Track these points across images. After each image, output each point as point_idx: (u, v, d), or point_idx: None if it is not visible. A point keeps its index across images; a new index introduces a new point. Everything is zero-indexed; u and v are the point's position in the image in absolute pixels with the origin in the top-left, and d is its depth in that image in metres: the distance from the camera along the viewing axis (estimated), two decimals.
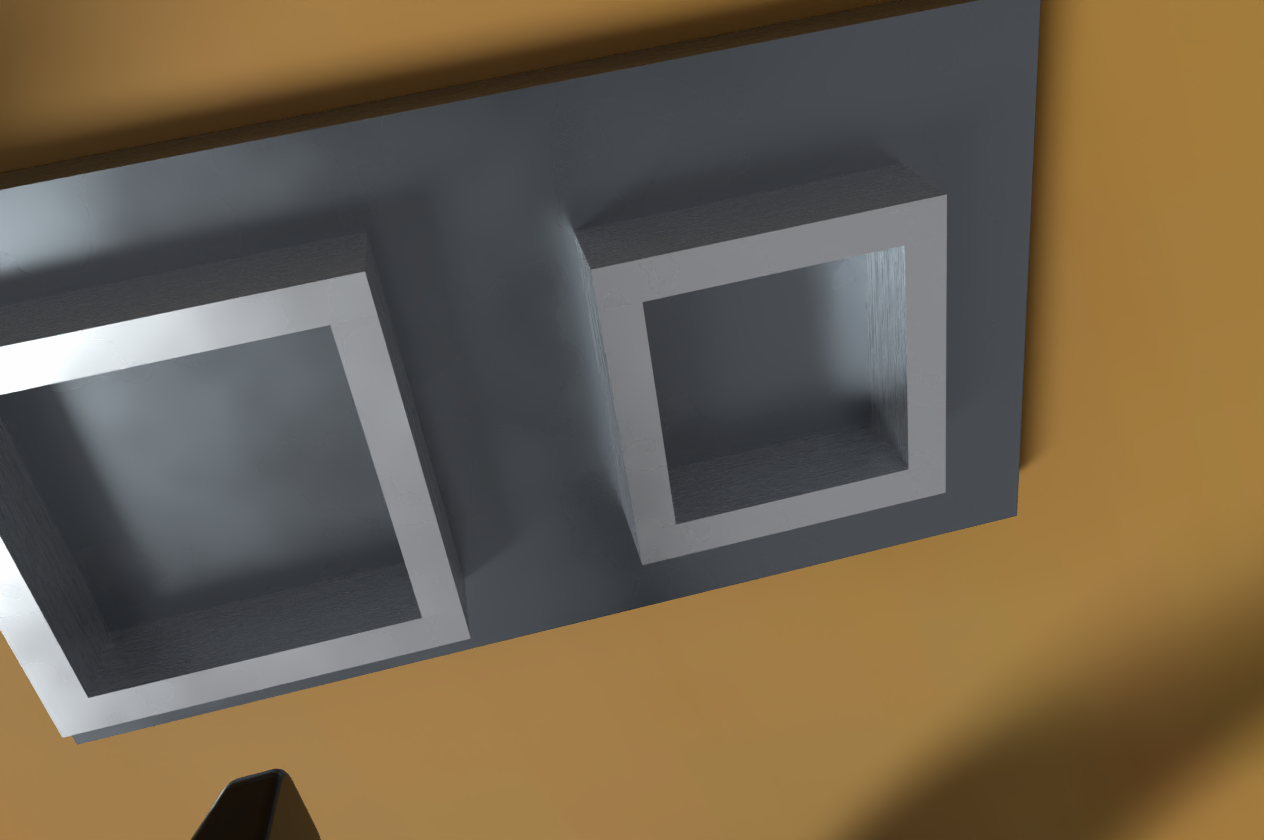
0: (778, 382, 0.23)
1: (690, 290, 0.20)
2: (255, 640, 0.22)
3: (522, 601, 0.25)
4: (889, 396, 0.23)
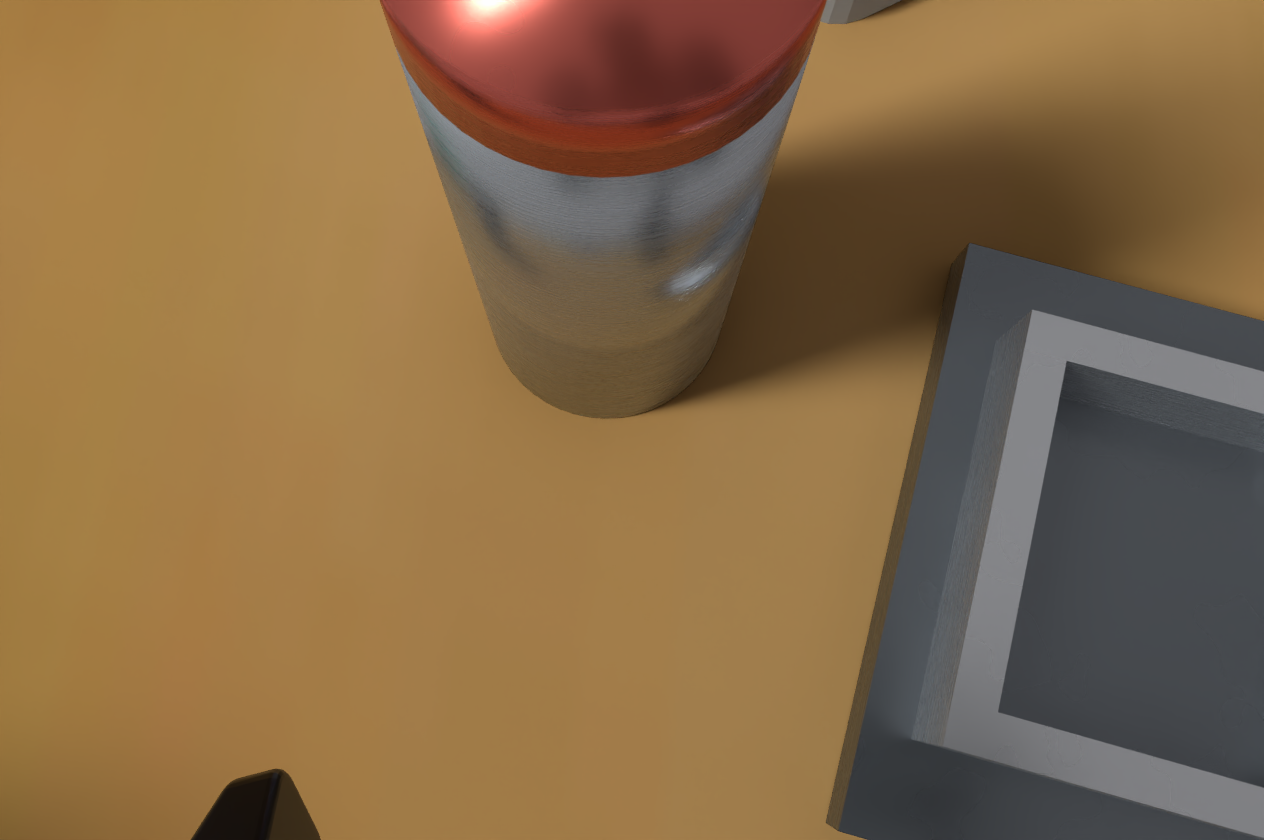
0: None
1: None
2: None
3: None
4: None
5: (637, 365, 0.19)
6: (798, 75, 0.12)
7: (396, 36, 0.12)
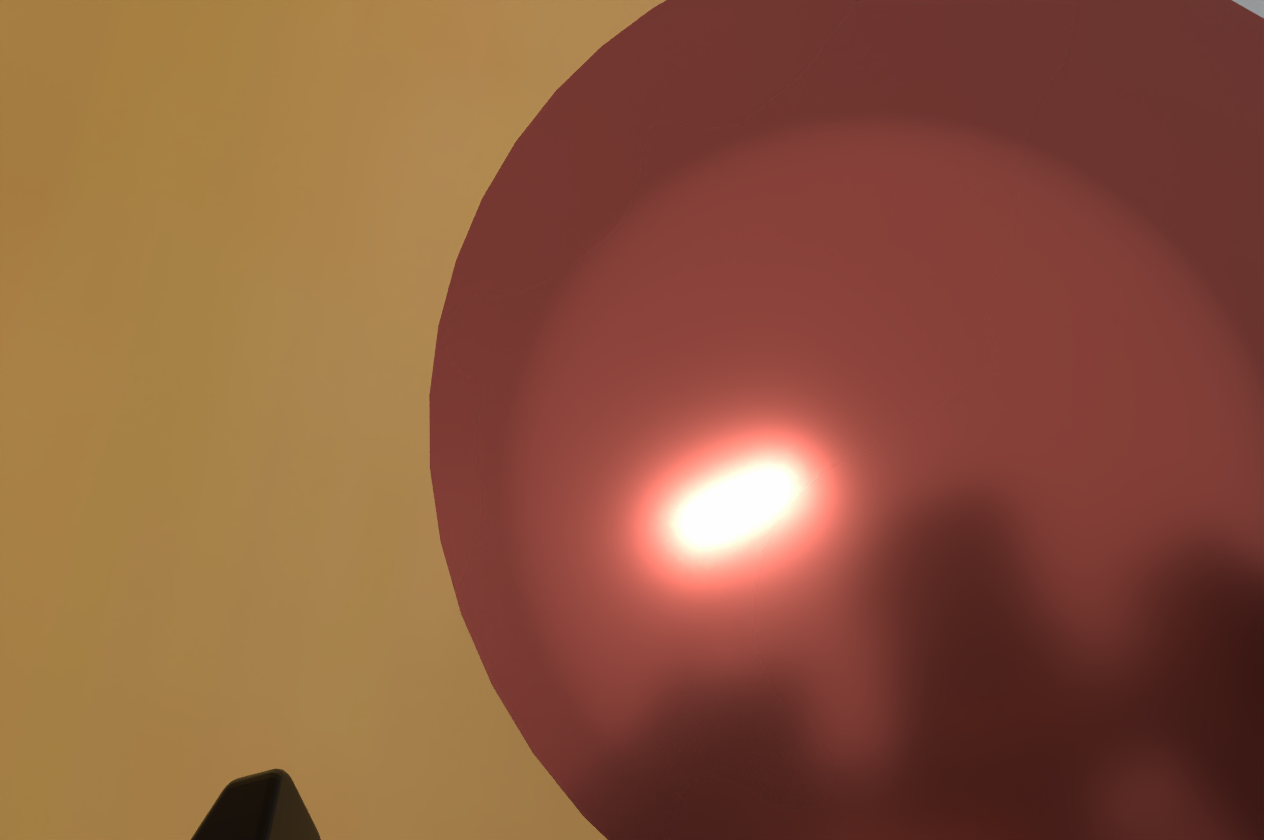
0: None
1: None
2: None
3: None
4: None
5: None
6: None
7: None
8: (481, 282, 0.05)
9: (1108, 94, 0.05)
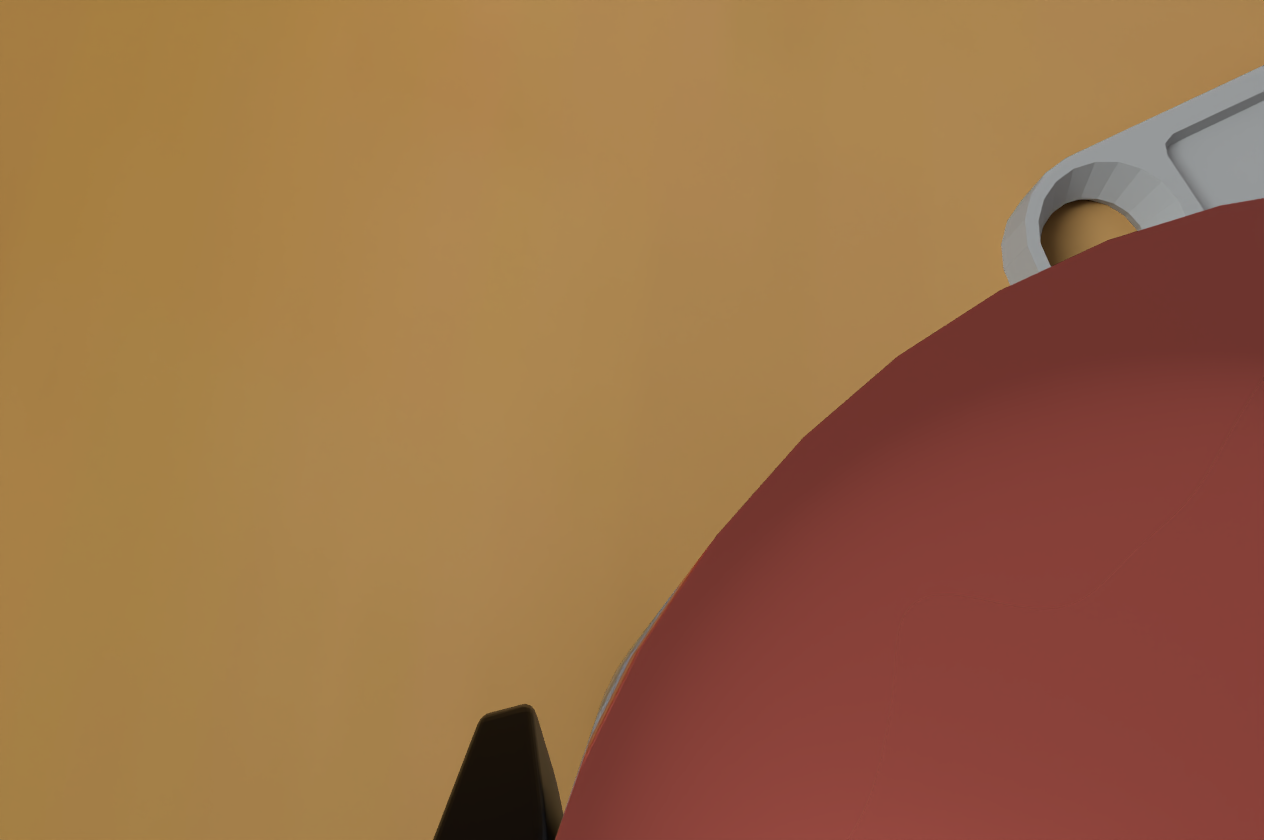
0: None
1: None
2: None
3: None
4: None
5: None
6: None
7: None
8: None
9: None
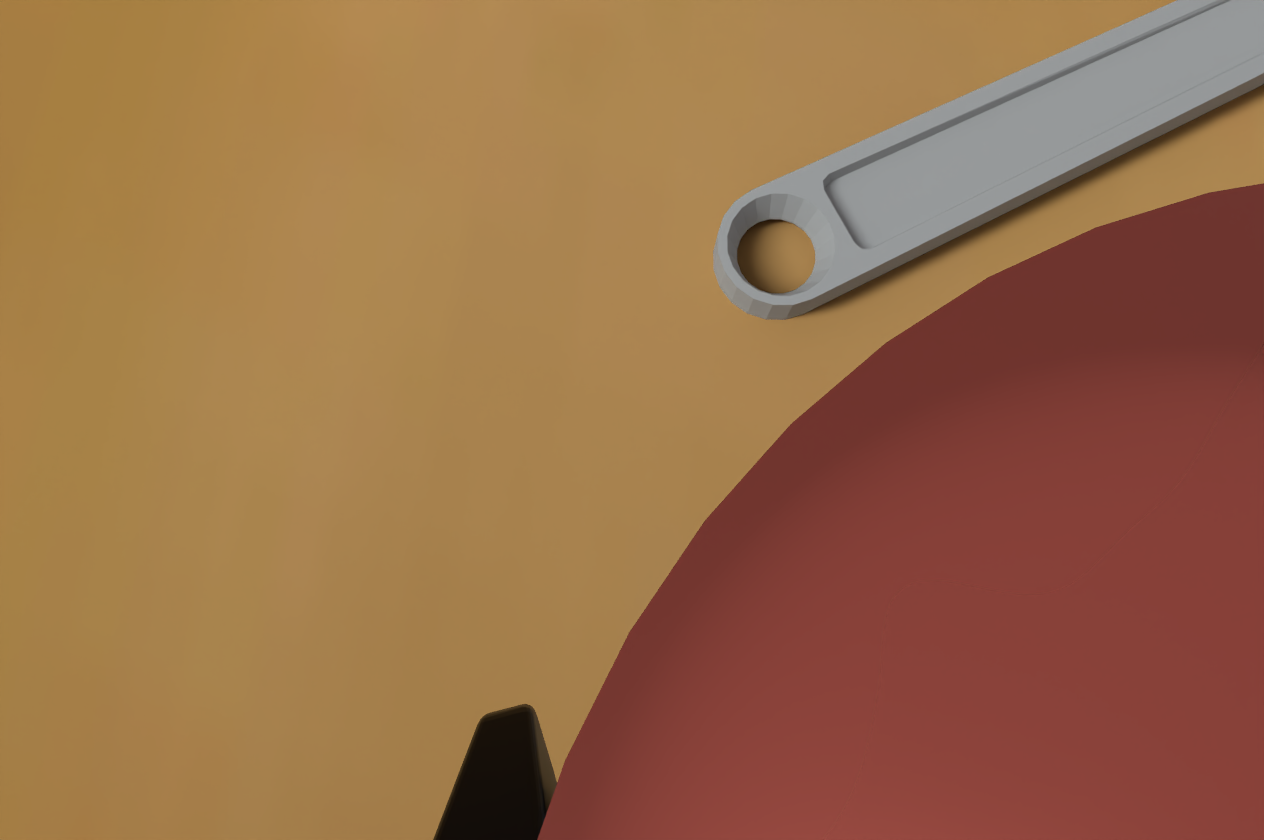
0: None
1: None
2: None
3: None
4: None
5: None
6: None
7: None
8: None
9: None
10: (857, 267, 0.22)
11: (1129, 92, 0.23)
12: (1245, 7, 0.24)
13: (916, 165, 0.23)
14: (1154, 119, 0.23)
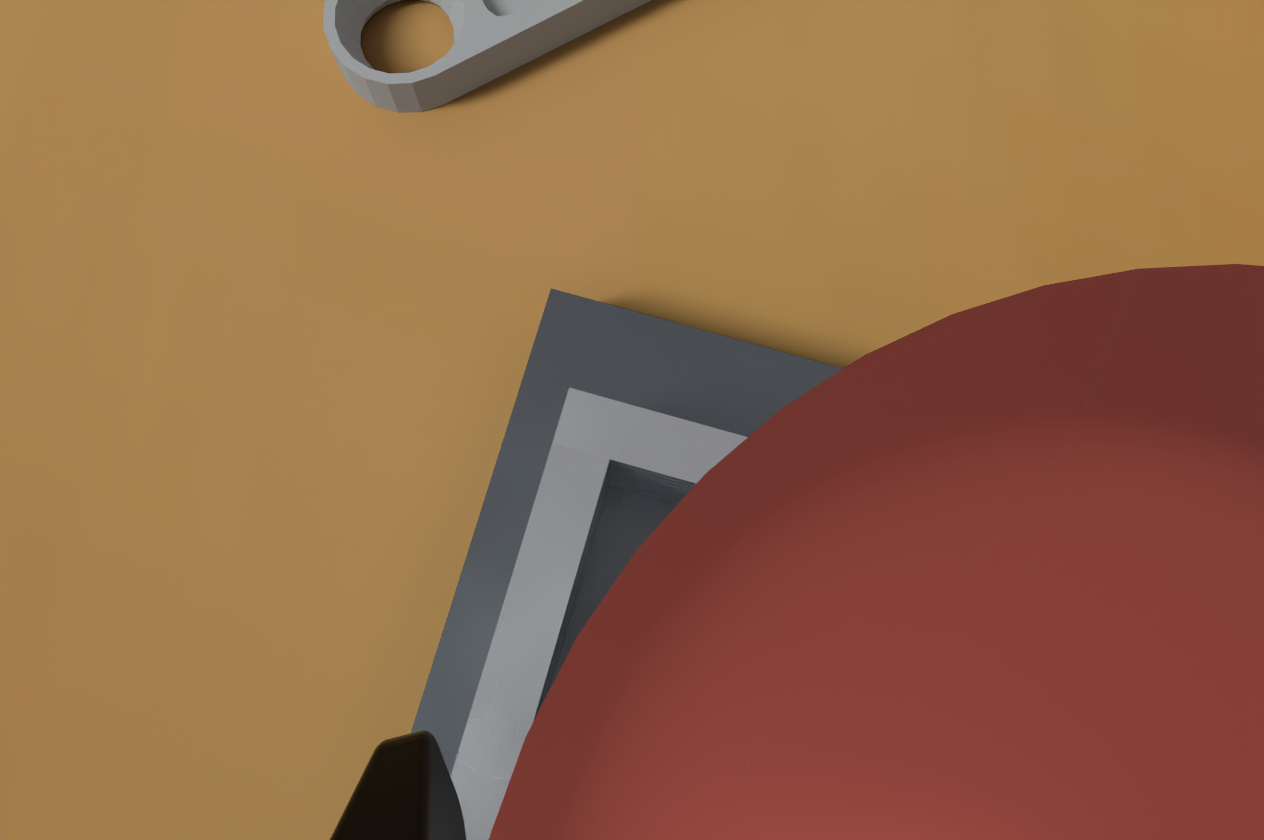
0: None
1: None
2: None
3: None
4: None
5: None
6: None
7: None
8: None
9: None
10: (490, 37, 0.19)
11: None
12: None
13: None
14: None
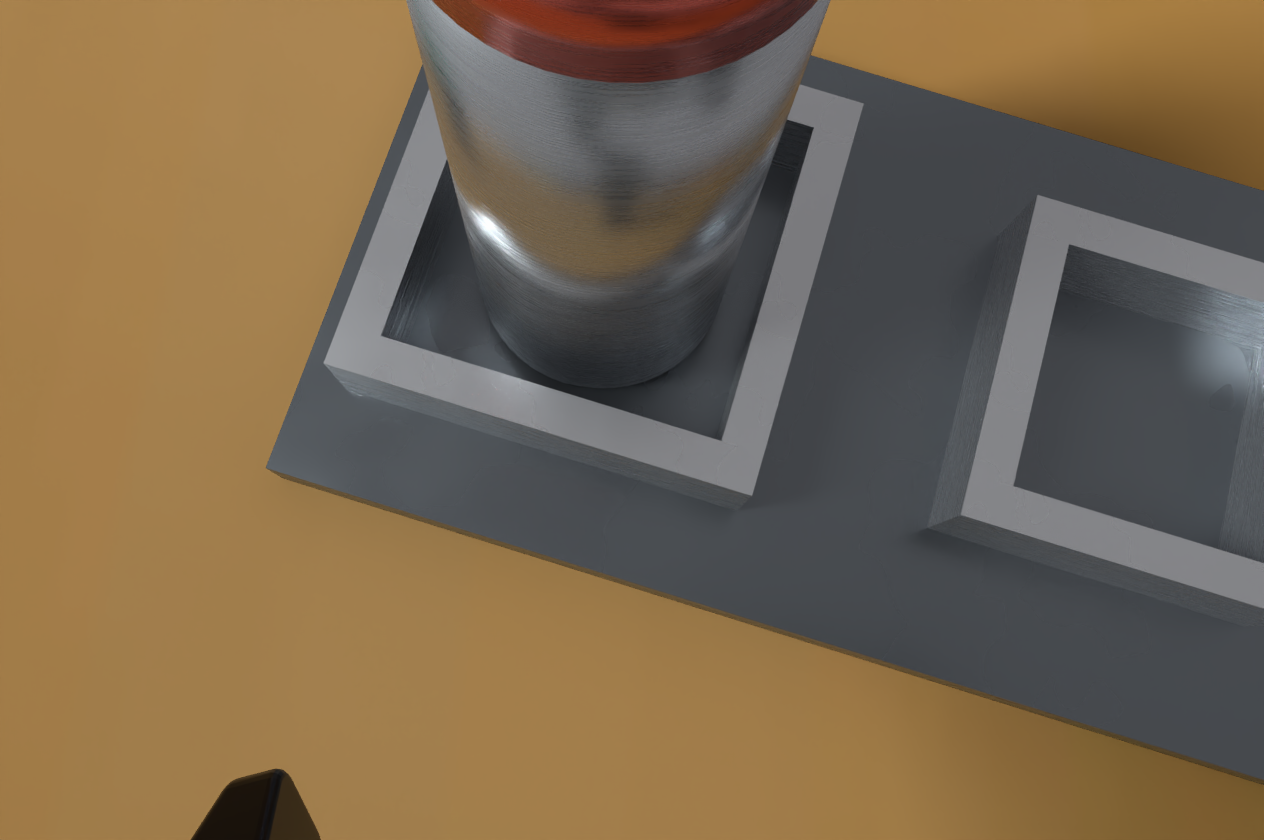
0: (1130, 474, 0.22)
1: (1113, 257, 0.21)
2: None
3: (777, 575, 0.21)
4: (1255, 509, 0.21)
5: (635, 326, 0.18)
6: None
7: None
8: None
9: None
10: None
11: None
12: None
13: None
14: None
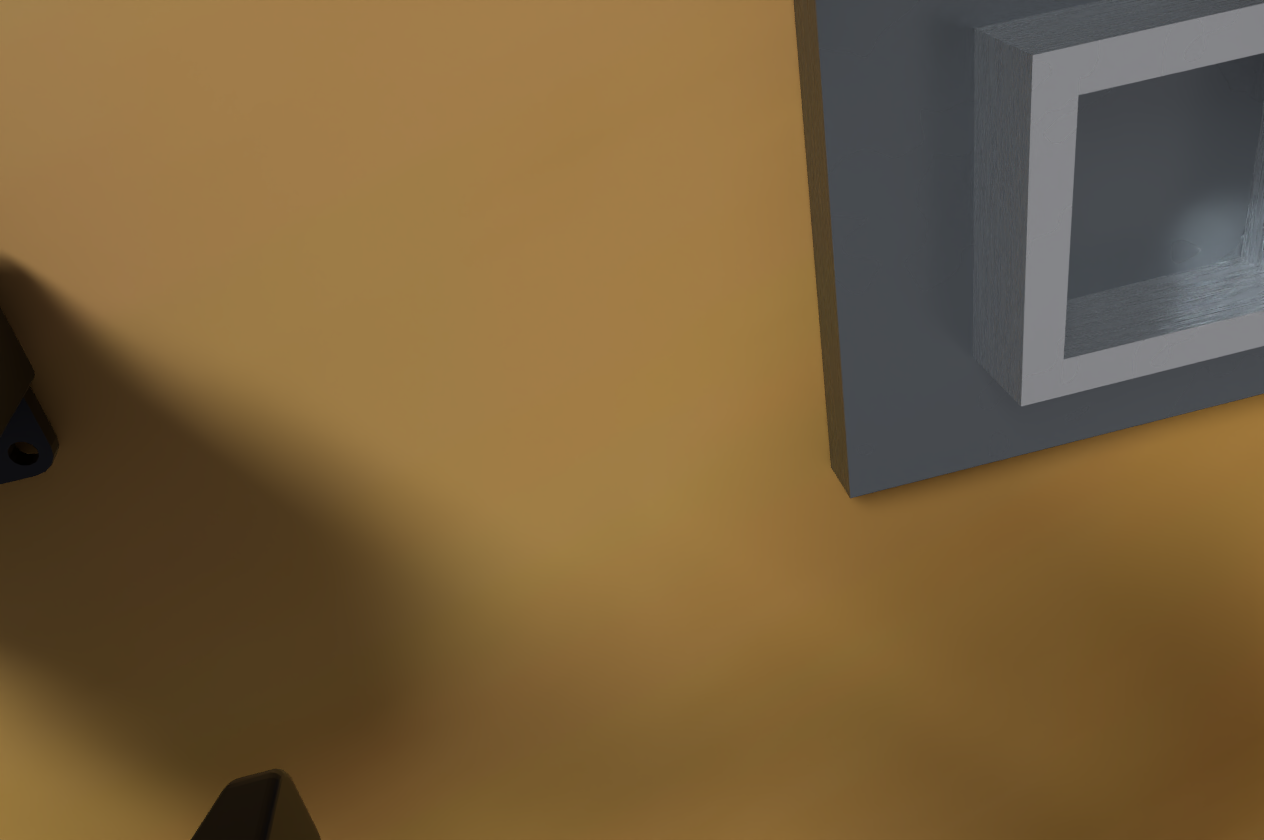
0: (1087, 202, 0.21)
1: None
2: None
3: None
4: (1097, 322, 0.21)
5: None
6: None
7: None
8: None
9: None
10: None
11: None
12: None
13: None
14: None
